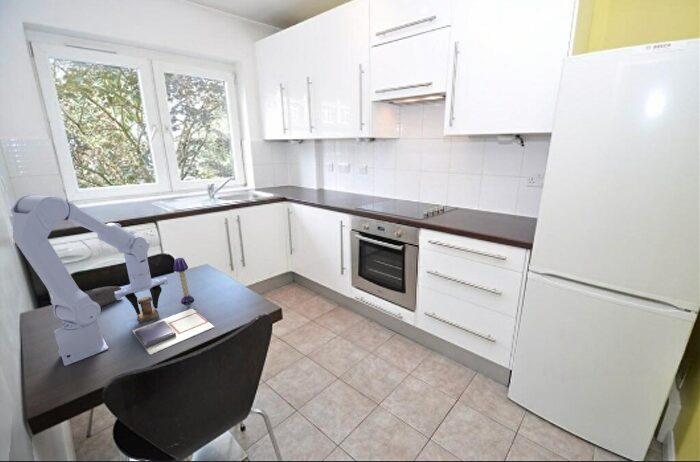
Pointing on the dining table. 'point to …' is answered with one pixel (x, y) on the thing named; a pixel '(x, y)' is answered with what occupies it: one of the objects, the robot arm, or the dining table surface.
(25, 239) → the robot arm
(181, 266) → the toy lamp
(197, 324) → the paper sheet
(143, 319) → the stamp
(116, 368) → the dining table surface
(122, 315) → the dining table surface
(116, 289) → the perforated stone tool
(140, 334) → the ink pad
